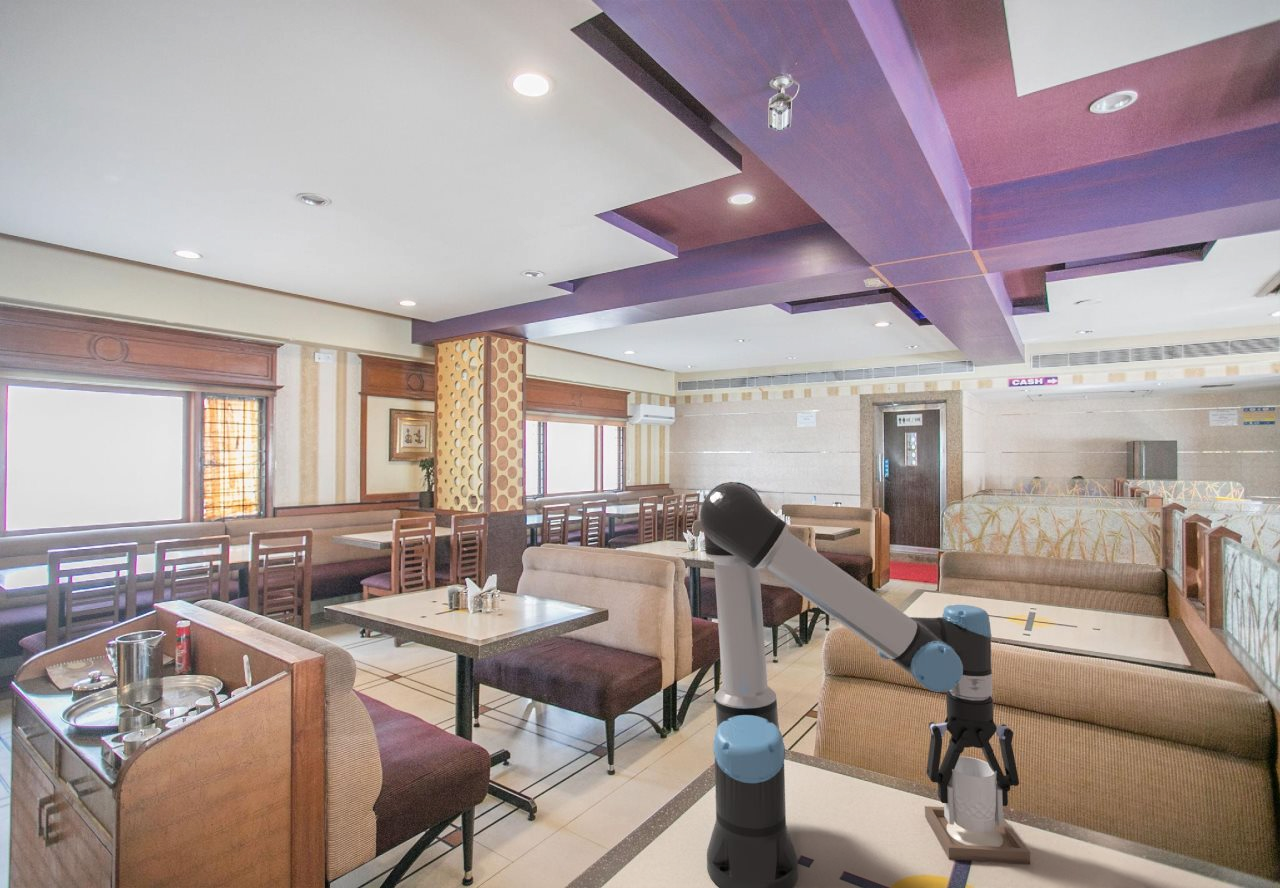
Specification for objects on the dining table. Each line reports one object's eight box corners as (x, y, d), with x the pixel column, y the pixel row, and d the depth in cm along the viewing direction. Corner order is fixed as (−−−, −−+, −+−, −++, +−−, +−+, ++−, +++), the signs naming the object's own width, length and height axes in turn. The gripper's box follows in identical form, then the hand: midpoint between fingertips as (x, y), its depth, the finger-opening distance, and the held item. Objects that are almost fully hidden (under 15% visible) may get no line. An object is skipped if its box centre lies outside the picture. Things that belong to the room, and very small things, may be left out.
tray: (949, 859, 108) (948, 847, 108) (925, 816, 121) (924, 806, 121) (1030, 864, 106) (1030, 852, 106) (997, 820, 119) (997, 809, 119)
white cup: (956, 833, 111) (954, 775, 111) (943, 808, 118) (942, 754, 118) (1005, 837, 109) (1003, 779, 109) (989, 812, 117) (987, 758, 117)
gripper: (916, 699, 112) (920, 830, 111) (1040, 703, 109) (1044, 837, 109) (904, 684, 119) (907, 807, 119) (1019, 687, 117) (1024, 813, 116)
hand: (973, 821), depth 114 cm, fingers closed on white cup, 8 cm apart
